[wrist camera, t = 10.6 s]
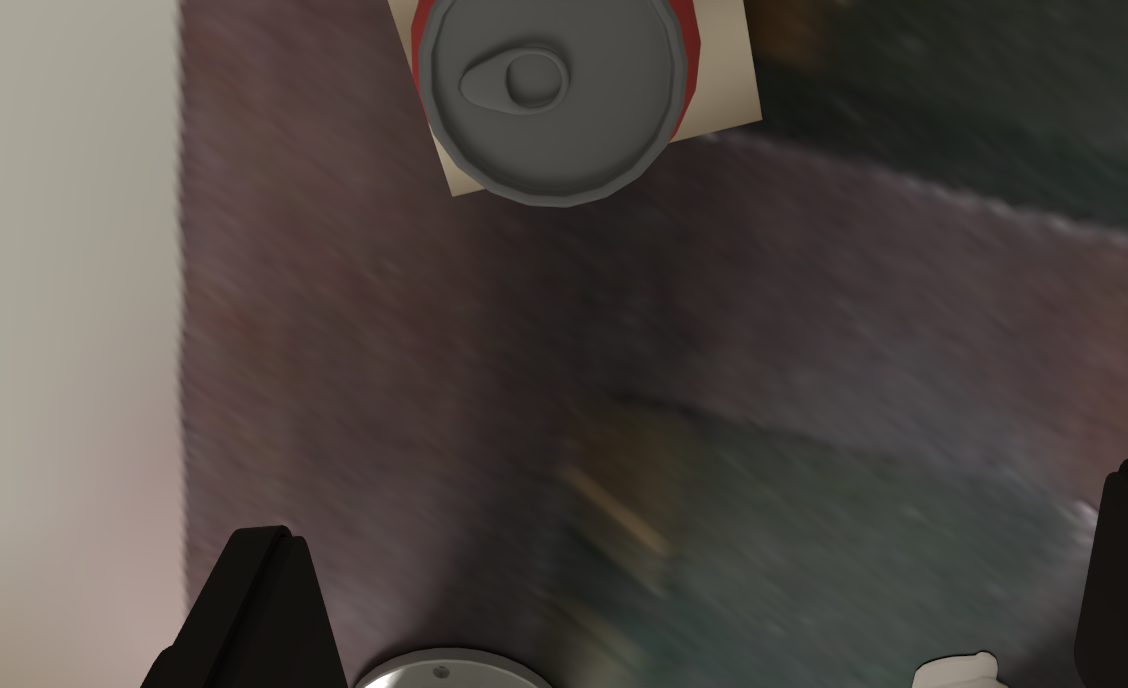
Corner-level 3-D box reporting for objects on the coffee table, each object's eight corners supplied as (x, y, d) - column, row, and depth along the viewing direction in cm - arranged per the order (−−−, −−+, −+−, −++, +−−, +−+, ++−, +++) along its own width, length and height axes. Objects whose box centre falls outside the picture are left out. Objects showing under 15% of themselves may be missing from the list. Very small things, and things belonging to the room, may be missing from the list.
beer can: (444, -100, 28) (360, -77, 18) (659, -127, 28) (708, -119, 17) (476, 114, 31) (423, 245, 21) (671, 93, 31) (719, 216, 20)
